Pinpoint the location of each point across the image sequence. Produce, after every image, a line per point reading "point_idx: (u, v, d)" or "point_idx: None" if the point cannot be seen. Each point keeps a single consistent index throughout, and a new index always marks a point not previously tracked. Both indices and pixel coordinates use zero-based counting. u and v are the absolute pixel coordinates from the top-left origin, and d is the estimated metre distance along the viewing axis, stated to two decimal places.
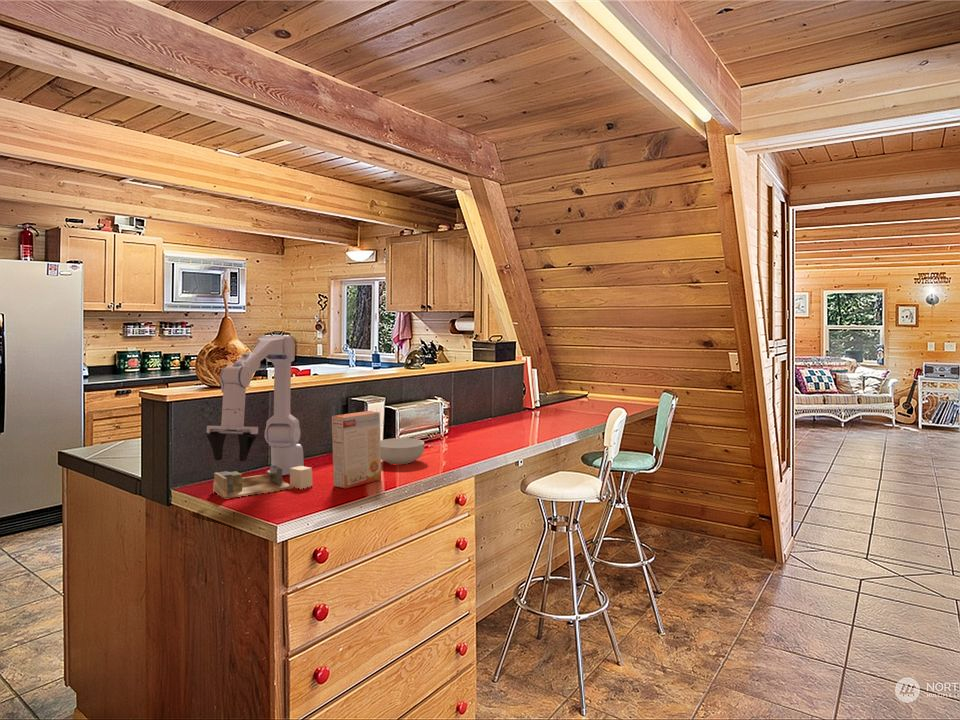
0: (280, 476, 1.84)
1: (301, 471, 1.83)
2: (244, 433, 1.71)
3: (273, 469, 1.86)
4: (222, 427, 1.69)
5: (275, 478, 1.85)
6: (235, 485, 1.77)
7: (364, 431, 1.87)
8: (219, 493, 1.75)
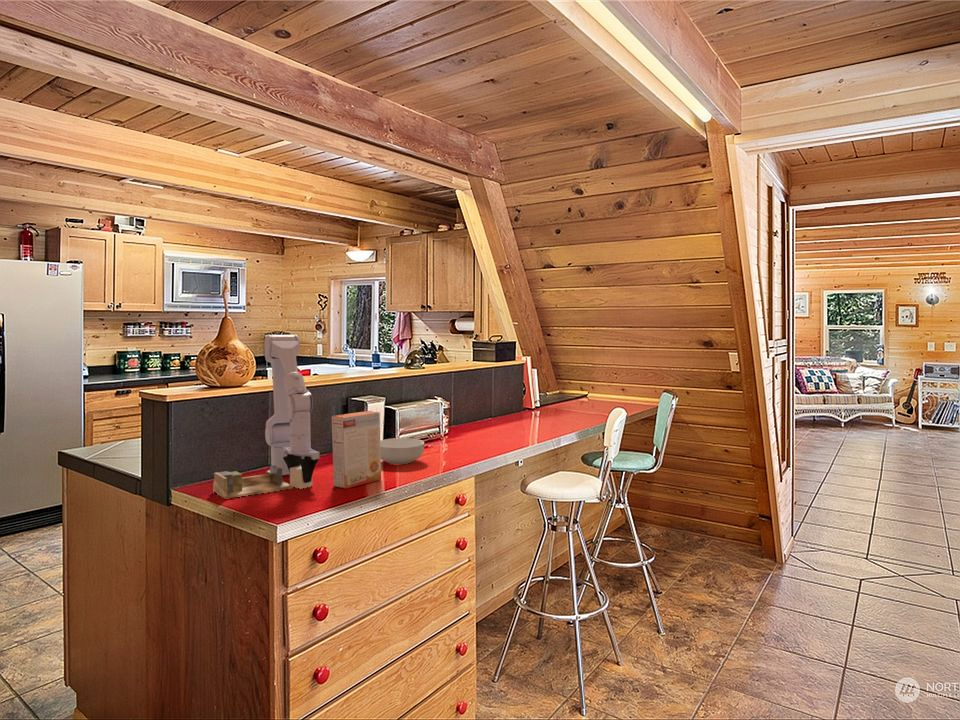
0: (280, 476, 1.84)
1: (301, 471, 1.83)
2: (307, 458, 1.82)
3: (273, 469, 1.86)
4: (288, 452, 1.82)
5: (275, 478, 1.85)
6: (235, 485, 1.77)
7: (364, 431, 1.87)
8: (219, 493, 1.75)
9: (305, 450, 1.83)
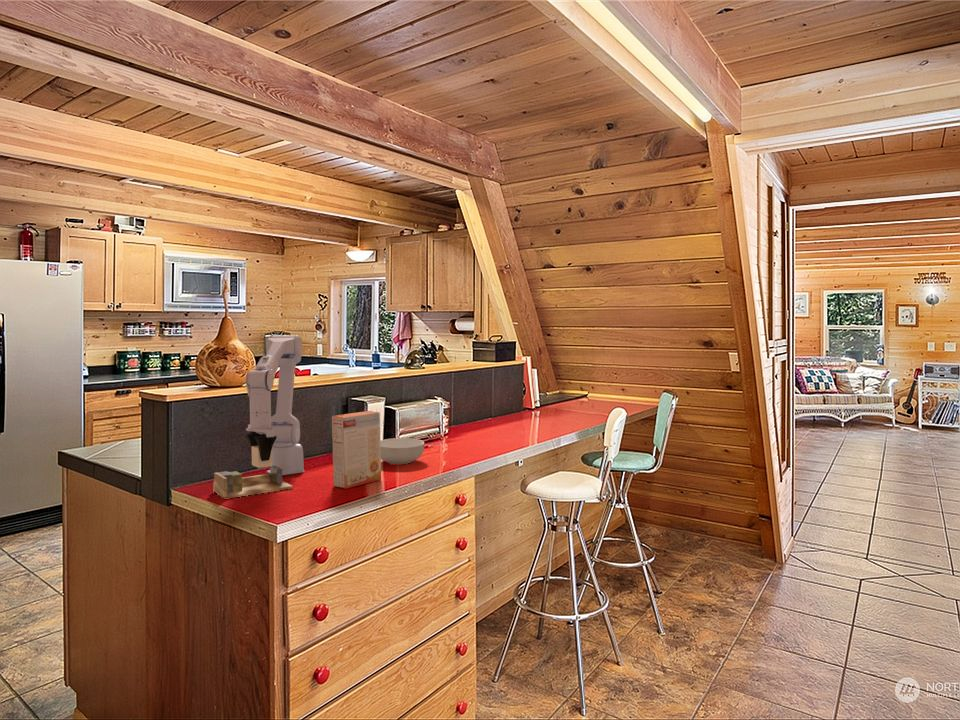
0: (280, 476, 1.84)
1: None
2: (263, 435, 1.79)
3: (273, 469, 1.86)
4: (246, 429, 1.80)
5: (275, 478, 1.85)
6: (235, 485, 1.77)
7: (364, 431, 1.87)
8: (219, 493, 1.75)
9: (262, 427, 1.80)
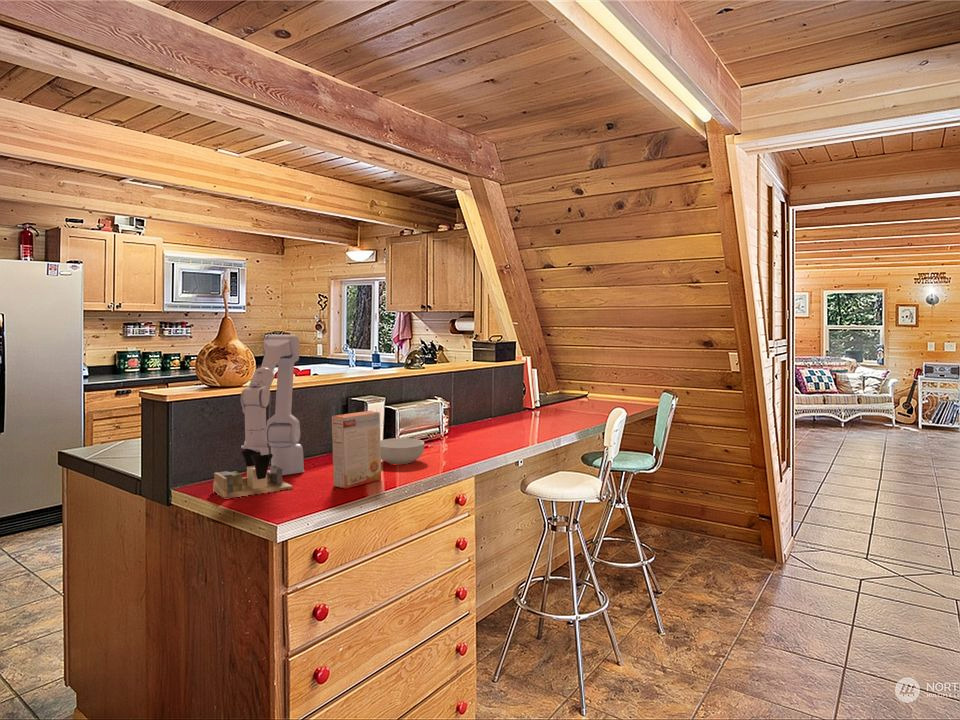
0: (280, 476, 1.84)
1: (253, 470, 1.80)
2: (258, 453, 1.78)
3: (273, 469, 1.86)
4: (241, 447, 1.80)
5: (275, 478, 1.85)
6: (235, 485, 1.77)
7: (364, 431, 1.87)
8: (219, 493, 1.75)
9: (257, 445, 1.80)
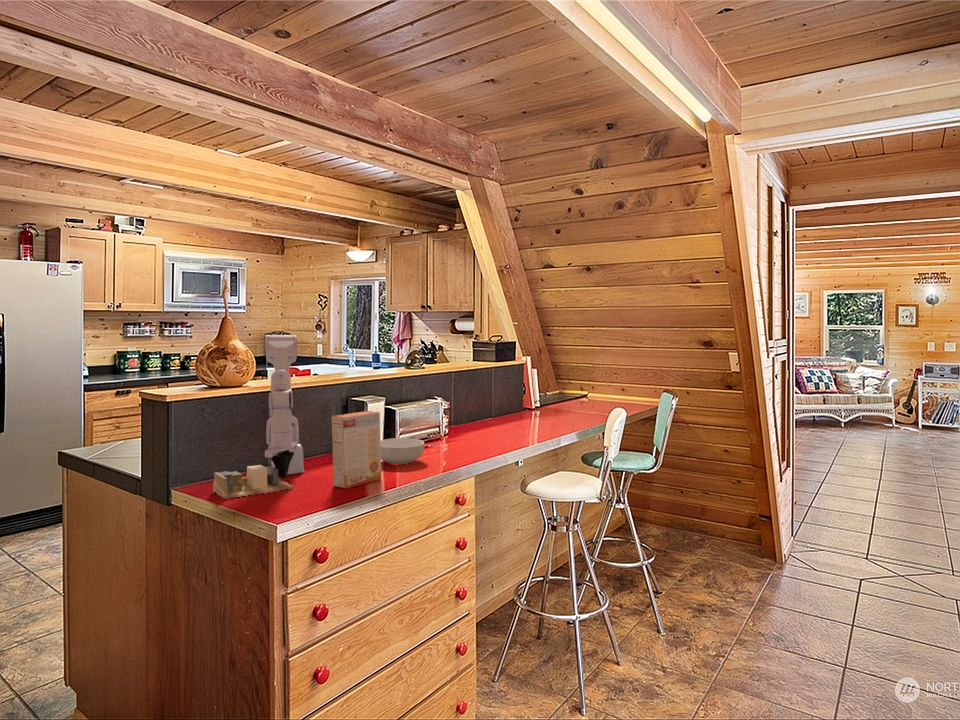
0: (276, 477, 1.83)
1: (253, 470, 1.80)
2: None
3: (269, 470, 1.85)
4: None
5: (271, 479, 1.84)
6: (235, 485, 1.77)
7: (364, 431, 1.87)
8: (219, 493, 1.75)
9: (275, 447, 1.84)
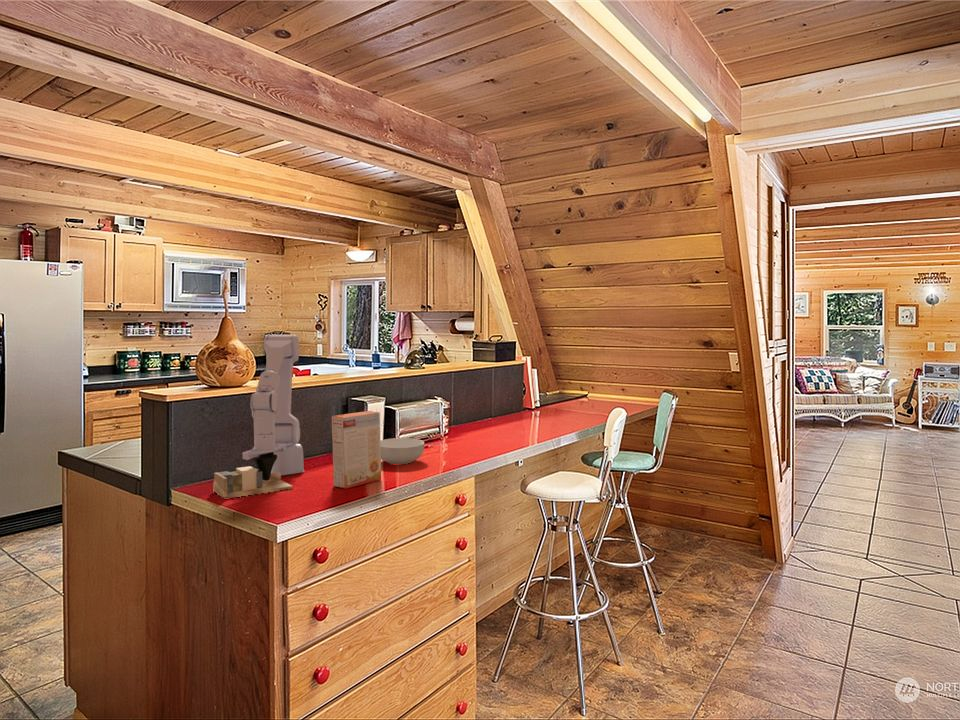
0: (260, 479, 1.81)
1: (243, 472, 1.78)
2: None
3: None
4: None
5: None
6: (235, 485, 1.77)
7: (364, 431, 1.87)
8: (219, 493, 1.75)
9: (256, 449, 1.81)
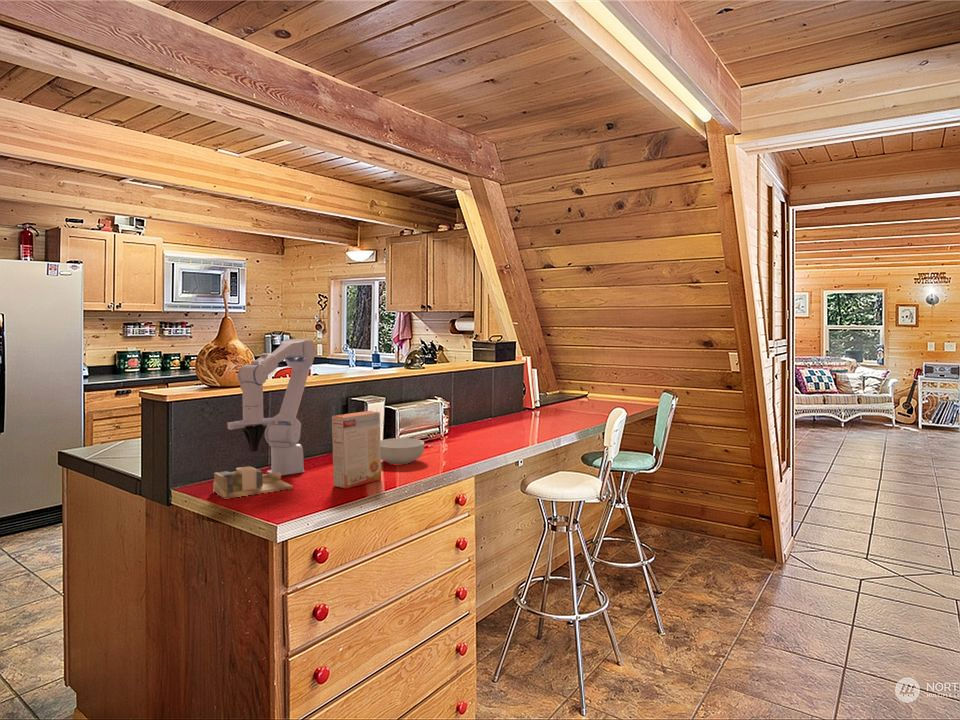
0: (260, 479, 1.81)
1: (243, 472, 1.78)
2: None
3: None
4: None
5: None
6: (235, 485, 1.77)
7: (364, 431, 1.87)
8: (219, 493, 1.75)
9: (243, 420, 1.86)
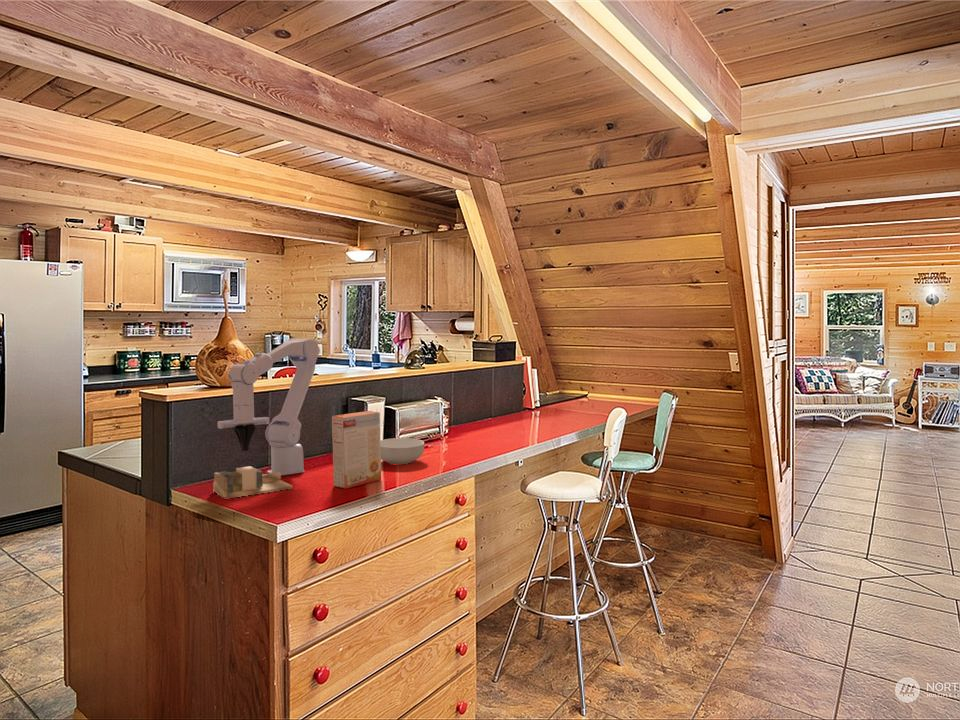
0: (260, 479, 1.81)
1: (243, 472, 1.78)
2: None
3: None
4: None
5: None
6: (235, 485, 1.77)
7: (364, 431, 1.87)
8: (219, 493, 1.75)
9: (233, 419, 1.87)
